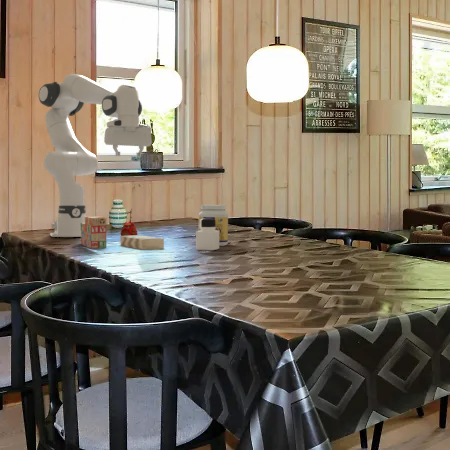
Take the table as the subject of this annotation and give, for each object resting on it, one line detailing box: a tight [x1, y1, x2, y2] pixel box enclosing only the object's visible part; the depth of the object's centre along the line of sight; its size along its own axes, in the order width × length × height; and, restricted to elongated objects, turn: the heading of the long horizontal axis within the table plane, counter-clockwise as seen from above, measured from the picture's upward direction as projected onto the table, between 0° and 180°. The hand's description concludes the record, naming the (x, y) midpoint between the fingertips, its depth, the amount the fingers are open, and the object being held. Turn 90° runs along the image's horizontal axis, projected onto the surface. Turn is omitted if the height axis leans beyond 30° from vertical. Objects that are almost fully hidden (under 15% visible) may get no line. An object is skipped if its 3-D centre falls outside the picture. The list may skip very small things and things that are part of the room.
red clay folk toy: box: [120, 208, 138, 237], centre depth 284 cm, size 8×7×15 cm
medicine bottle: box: [195, 218, 220, 251], centre depth 251 cm, size 7×7×12 cm
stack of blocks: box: [80, 215, 108, 250], centre depth 266 cm, size 21×6×12 cm, turn 23°
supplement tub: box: [198, 204, 229, 247], centre depth 268 cm, size 12×12×17 cm
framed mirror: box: [120, 234, 165, 251], centre depth 262 cm, size 23×9×4 cm, turn 30°
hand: (128, 156), depth 275 cm, fingers open, 8 cm apart
